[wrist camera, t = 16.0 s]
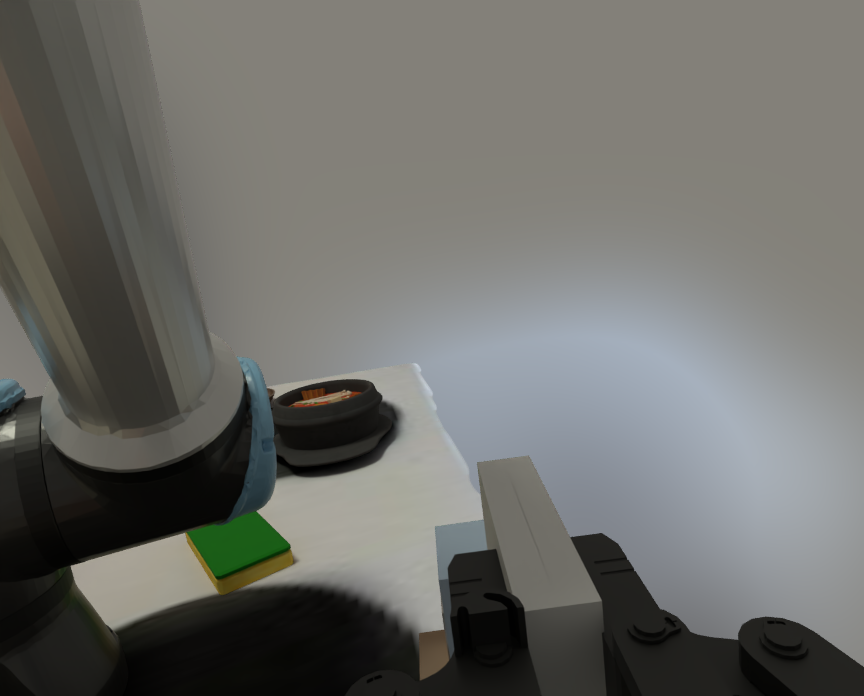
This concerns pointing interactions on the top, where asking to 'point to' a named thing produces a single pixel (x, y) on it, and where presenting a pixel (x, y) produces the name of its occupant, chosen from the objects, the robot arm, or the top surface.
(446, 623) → the slate blue block
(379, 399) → the casserole
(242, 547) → the dish sponge
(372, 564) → the top surface
